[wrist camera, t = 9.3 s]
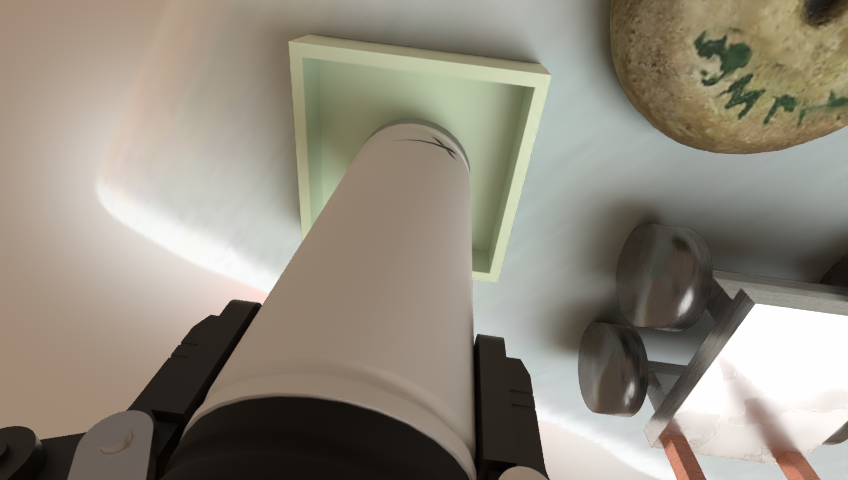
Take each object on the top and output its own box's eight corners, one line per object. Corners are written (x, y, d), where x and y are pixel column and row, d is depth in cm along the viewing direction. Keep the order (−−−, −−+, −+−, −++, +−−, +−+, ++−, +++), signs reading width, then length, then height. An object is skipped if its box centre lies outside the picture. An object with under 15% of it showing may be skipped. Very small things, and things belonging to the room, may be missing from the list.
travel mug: (446, 92, 20) (344, 662, 3) (484, 204, 23) (530, 788, 6) (336, 133, 22) (-108, 653, 5) (385, 233, 25) (217, 758, 8)
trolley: (642, 205, 24) (1021, 677, 8) (893, 237, 24) (1824, 793, 8) (572, 360, 32) (688, 768, 15) (762, 387, 32) (1086, 827, 15)
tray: (309, 34, 21) (288, 41, 18) (541, 63, 21) (551, 75, 18) (318, 230, 27) (303, 256, 25) (494, 254, 27) (497, 282, 25)
